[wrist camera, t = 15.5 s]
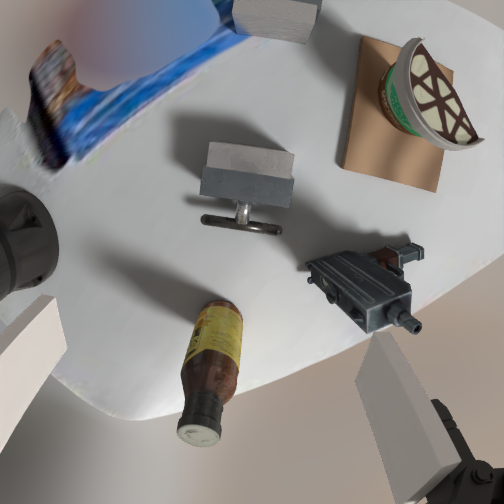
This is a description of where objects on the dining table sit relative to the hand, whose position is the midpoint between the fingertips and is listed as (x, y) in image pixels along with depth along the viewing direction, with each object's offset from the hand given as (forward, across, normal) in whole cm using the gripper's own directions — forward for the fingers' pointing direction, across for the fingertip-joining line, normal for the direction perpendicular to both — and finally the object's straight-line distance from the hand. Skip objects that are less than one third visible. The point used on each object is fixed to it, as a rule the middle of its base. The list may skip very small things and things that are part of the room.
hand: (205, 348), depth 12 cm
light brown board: (+26, +19, +14) cm, 35 cm away
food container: (+25, +17, +14) cm, 34 cm away
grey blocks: (+27, +2, +12) cm, 29 cm away
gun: (+27, +17, -5) cm, 32 cm away
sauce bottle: (+27, -1, -16) cm, 32 cm away
